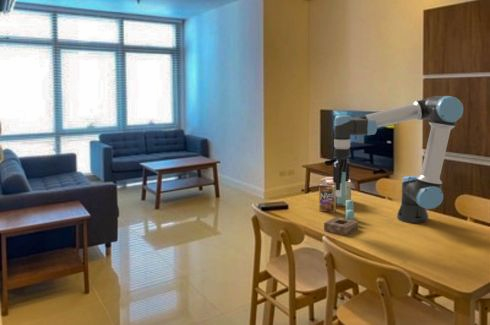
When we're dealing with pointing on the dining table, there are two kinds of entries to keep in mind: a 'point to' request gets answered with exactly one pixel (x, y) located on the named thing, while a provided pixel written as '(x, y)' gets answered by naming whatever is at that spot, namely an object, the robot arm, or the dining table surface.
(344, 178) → the long dowel
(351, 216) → the short dowel
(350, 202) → the medium dowel
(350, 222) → the walnut block
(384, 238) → the dining table surface
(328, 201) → the candy box
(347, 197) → the gift box
